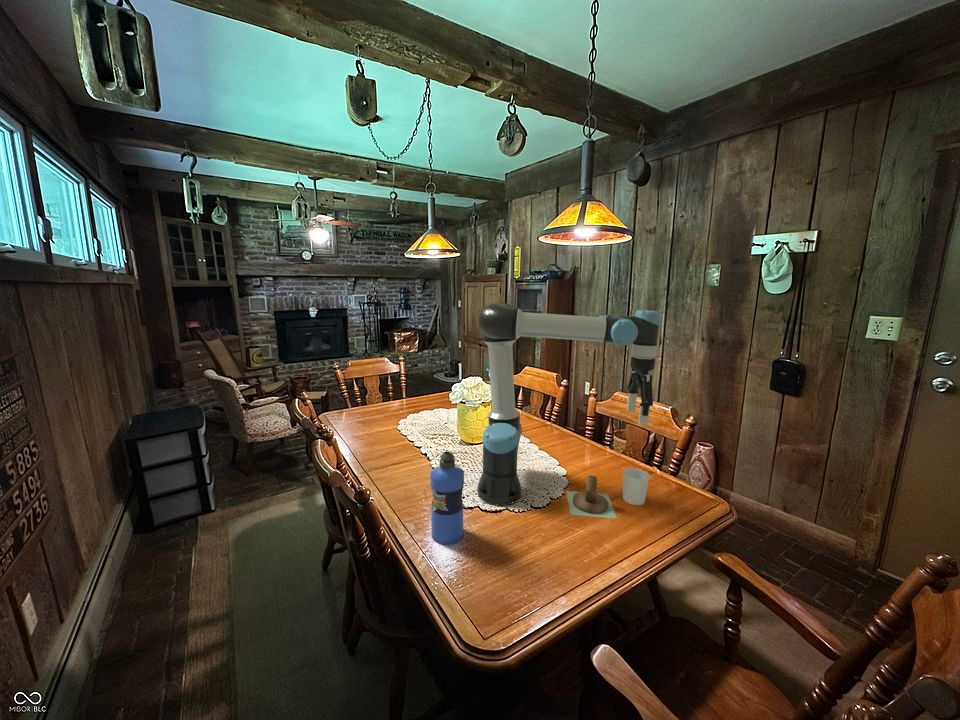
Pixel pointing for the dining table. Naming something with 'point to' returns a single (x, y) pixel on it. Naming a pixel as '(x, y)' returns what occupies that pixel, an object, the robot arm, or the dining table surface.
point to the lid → (590, 498)
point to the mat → (575, 511)
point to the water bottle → (447, 501)
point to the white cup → (635, 485)
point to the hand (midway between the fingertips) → (636, 417)
